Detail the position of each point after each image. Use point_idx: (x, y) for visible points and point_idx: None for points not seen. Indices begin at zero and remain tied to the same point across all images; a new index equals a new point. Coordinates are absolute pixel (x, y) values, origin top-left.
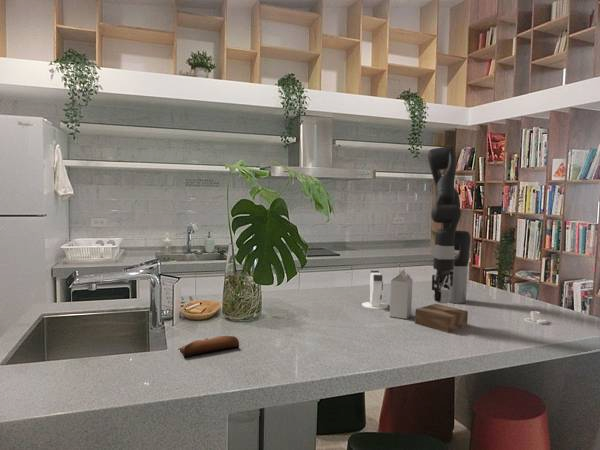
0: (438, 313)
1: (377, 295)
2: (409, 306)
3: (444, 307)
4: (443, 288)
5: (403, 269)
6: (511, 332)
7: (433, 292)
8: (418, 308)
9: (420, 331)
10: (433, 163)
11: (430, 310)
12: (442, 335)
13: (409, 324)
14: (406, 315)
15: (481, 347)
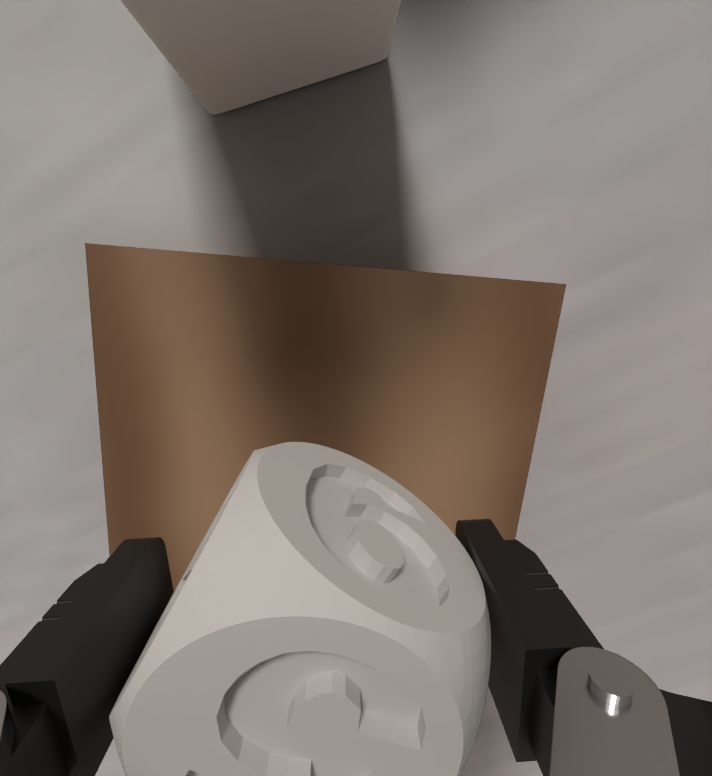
0: (165, 522)
1: None
2: (289, 17)
3: (459, 448)
4: (382, 742)
5: None
6: (508, 768)
7: (230, 496)
8: (152, 251)
9: (18, 405)
10: None
11: (198, 406)
12: (88, 553)
13: (97, 233)
14: (196, 95)
15: (98, 773)
